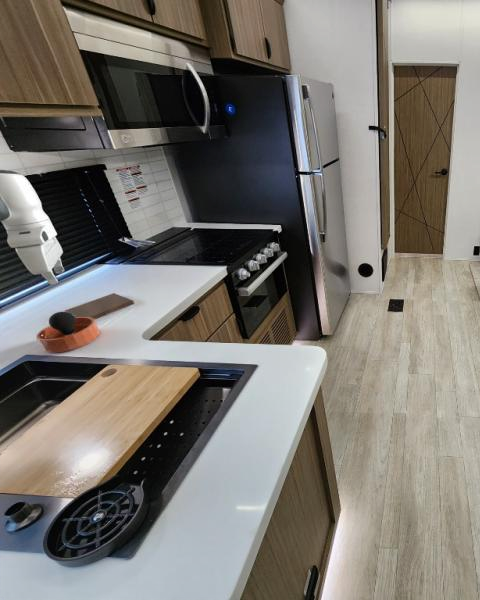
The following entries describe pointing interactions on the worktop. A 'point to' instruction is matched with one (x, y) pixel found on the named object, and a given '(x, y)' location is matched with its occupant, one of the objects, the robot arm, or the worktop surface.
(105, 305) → the board
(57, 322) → the black bulb silver base
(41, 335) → the bowl
